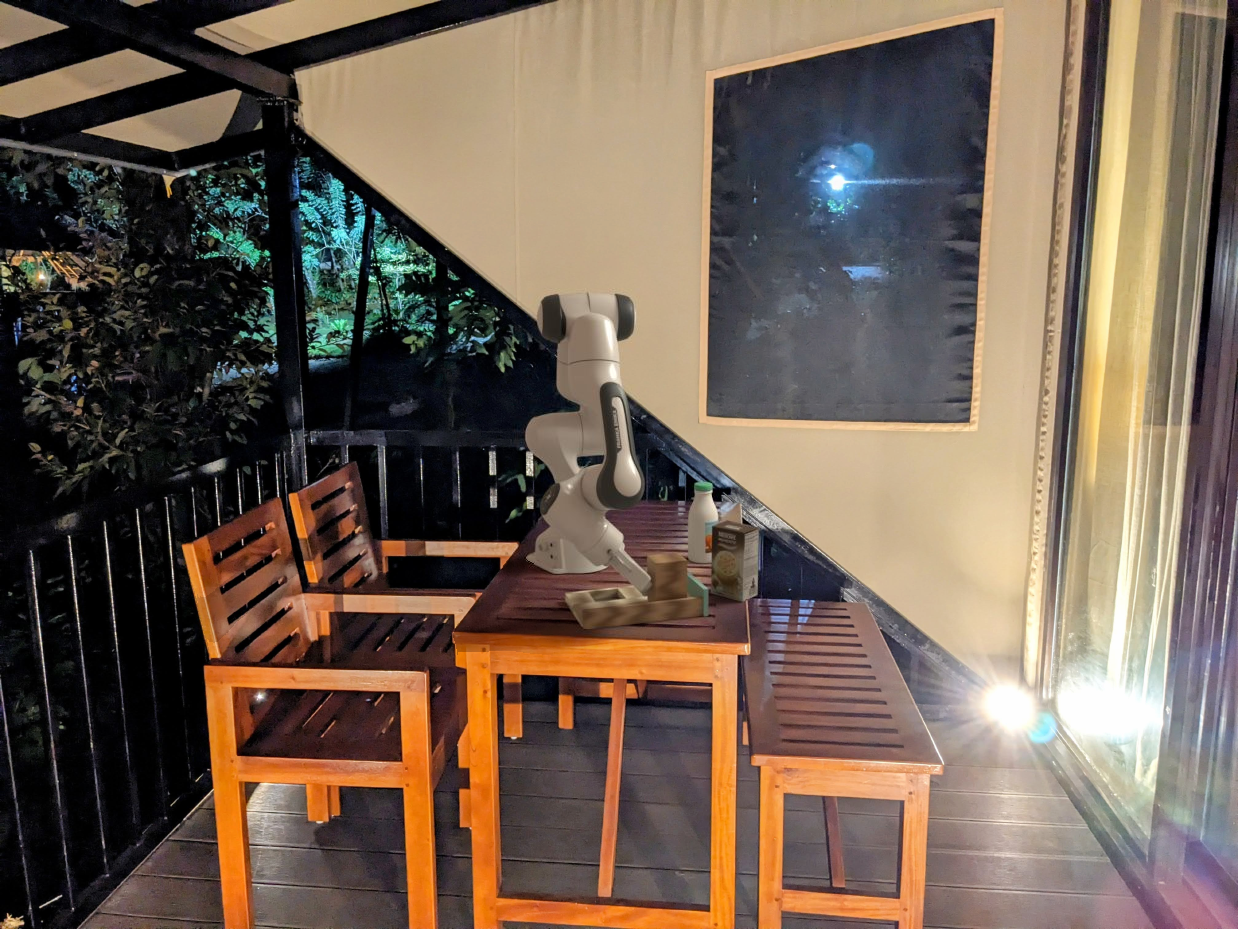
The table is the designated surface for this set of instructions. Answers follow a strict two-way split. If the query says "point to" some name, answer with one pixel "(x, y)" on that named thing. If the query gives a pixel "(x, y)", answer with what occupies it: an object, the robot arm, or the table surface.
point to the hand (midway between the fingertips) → (648, 585)
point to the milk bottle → (701, 524)
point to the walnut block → (667, 577)
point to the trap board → (627, 607)
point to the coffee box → (734, 560)
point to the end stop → (698, 591)
